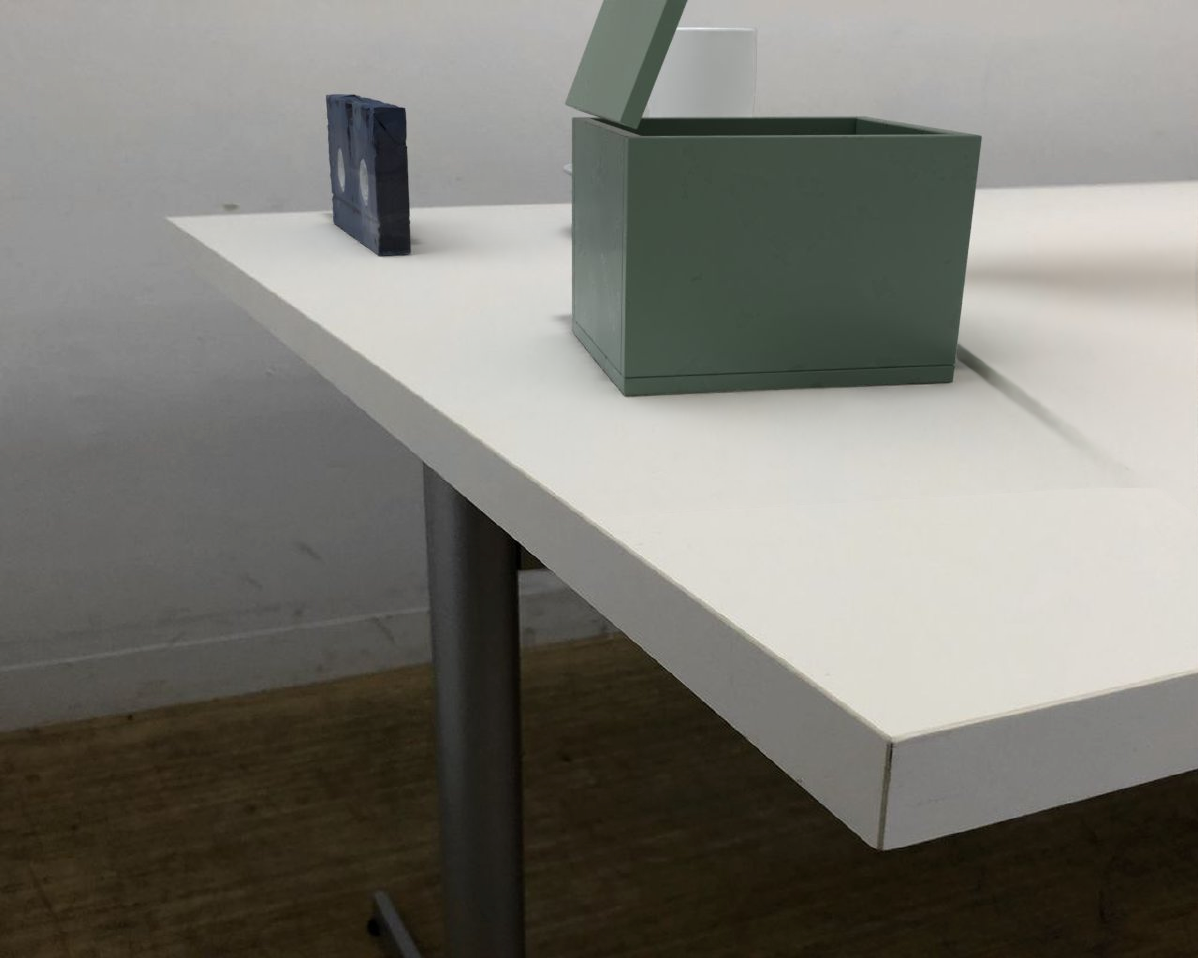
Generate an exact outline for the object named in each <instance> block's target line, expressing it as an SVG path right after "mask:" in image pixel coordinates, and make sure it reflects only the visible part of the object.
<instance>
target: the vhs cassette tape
mask: <svg viewBox="0 0 1198 958" xmlns="http://www.w3.org/2000/svg"><path fill="white" fill-rule="evenodd" d="M325 103H326V119H327V125H326V126H327V127H326V128H327V142H328V155H329V156H328V161H329V169H330V171H329V173H330V174H329V176H330V177H329V178H330V186H331V193H332V198H331V202H332V221H333V222H332V223H333V224H335V225H336V226H338V227H339V228H340V229H342V230H343V231H344V232H346V233H347V234H348V235H350V236H351V237H353V238H354V239H355V240H356V241H358V242H359V243H361V244H362V245H363V246H365V247H366V248H368V249H369V250H370V251H371V252H373V253H375V255H379V256H385V255H386V256H389V255H406V254H407V255H408V254H411V251H412V246H411V244H412V243H411V220H410V217H411V210H410V207H411V205H410V184H409V182H410V181H409V156H408V146H407V139H408V129H407V125H408V124H407V112H406V110H407V109H406V107H403V106H402V107H401V106H398V105H396V104H393V103H392V104H391V103H389V102H388V103H387V102H383V101H381V100H377V99H373V98H370V97H364V96H363V97H362V96H361V95H357V94H355V93H354V94H353V93H351V94H343V93H338V94H337V93H334V94H326V95H325Z"/></svg>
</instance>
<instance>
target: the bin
mask: <svg viewBox="0 0 1198 958" xmlns="http://www.w3.org/2000/svg"><path fill="white" fill-rule="evenodd" d="M982 139H983V136H982V135H981V134H974V133H967V132H961V131H955V130H950V129H944V128H937V127H932V126H925V125H919V124H914V123H913V124H912V123H908V122H907V123H906V122H901V121H896V120H895V121H894V120H888V119H883V118H875V117H870V116H864V115H861V116H860V115H859V116H857V115H856V116H852V115H850V116H847V115H846V116H845V115H844V116H842V115H841V116H839V115H838V116H836V115H835V116H834V115H833V116H827V115H826V116H825V115H824V116H753V117H648V116H642V118H641V121H640V123H639V126H638V128H637V129H634V128H630V127H627V126H624V125H621V124H618V123H615V122H612V121H609V120H606V119H603V118H600V117H597V116H575V117H574V116H573V117H572V118H571V163H572V177H571V316H572V318H571V332H572V333H573V335H574V336H575V337H576V338H577V339H578V341H580V343H581V344H582V345H583V347H584V348H585V350H587V352H588V353H589V354H590V355H591V356H592V358H593V359H594V360H595V362H597V364H598V365H599V366H600V368H602V371H604V373H606V375H607V376H608V377H609V379H610V380H611V381H612V382H613V383H614V384H615V386H616V387H617V388H618V390H620V392H621V393H622V395H624V396H625V397H626V396H647V395H648V396H650V395H672V394H673V395H674V394H675V395H676V394H696V393H697V394H698V393H699V394H700V393H719V392H720V393H721V392H723V393H724V392H742V391H744V392H745V391H766V390H767V391H768V390H769V391H771V390H790V389H793V390H794V389H813V388H815V389H816V388H841V387H863V386H886V385H911V384H935V383H936V384H937V383H953V382H954V377H955V369H956V368H955V367H956V366H955V365H956V359H957V350H958V341H959V333H960V326H961V318H962V317H961V316H962V309H963V298H964V291H965V283H966V276H967V275H966V274H967V267H968V258H969V257H968V256H969V250H970V239H971V232H972V225H973V215H974V207H975V200H976V199H975V198H976V190H977V182H978V172H979V166H980V165H979V164H980V157H981V149H982Z"/></svg>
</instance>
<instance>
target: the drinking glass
mask: <svg viewBox="0 0 1198 958" xmlns="http://www.w3.org/2000/svg"><path fill="white" fill-rule="evenodd" d="M757 72H758V29H757V28H755V27H692V26H691V27H683V26H682V27H681V26H680V27H678V26H677V29H676V31H675V34H674V37H673V39H672V42H671V44H670V47H669V49H668V52H667V54H666V57H665V59H664V62H663V65H662V67H661V70H660V72H659V75H658V77H657V80H656V82H655V85H654V87H653V90H652V93H651V95H650V98H649V100H648V103H647V117H754V109H755V101H756V88H757V74H758V73H757Z"/></svg>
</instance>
